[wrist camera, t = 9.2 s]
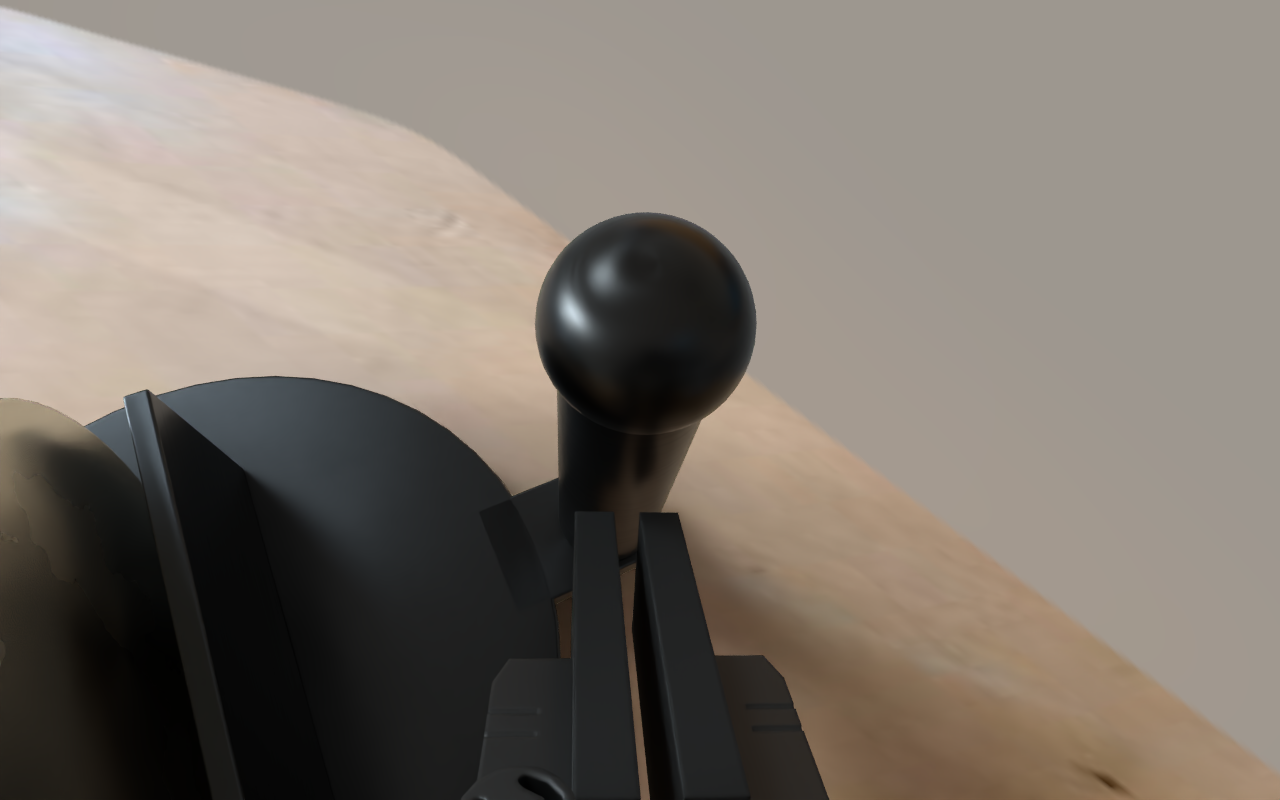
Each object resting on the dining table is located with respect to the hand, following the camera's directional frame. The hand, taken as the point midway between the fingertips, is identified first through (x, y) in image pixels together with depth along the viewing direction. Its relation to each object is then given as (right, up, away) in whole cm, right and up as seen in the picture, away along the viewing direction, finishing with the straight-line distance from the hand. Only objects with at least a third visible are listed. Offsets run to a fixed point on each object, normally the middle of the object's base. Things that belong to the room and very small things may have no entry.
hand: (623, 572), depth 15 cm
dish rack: (-8, -3, +4) cm, 10 cm away
